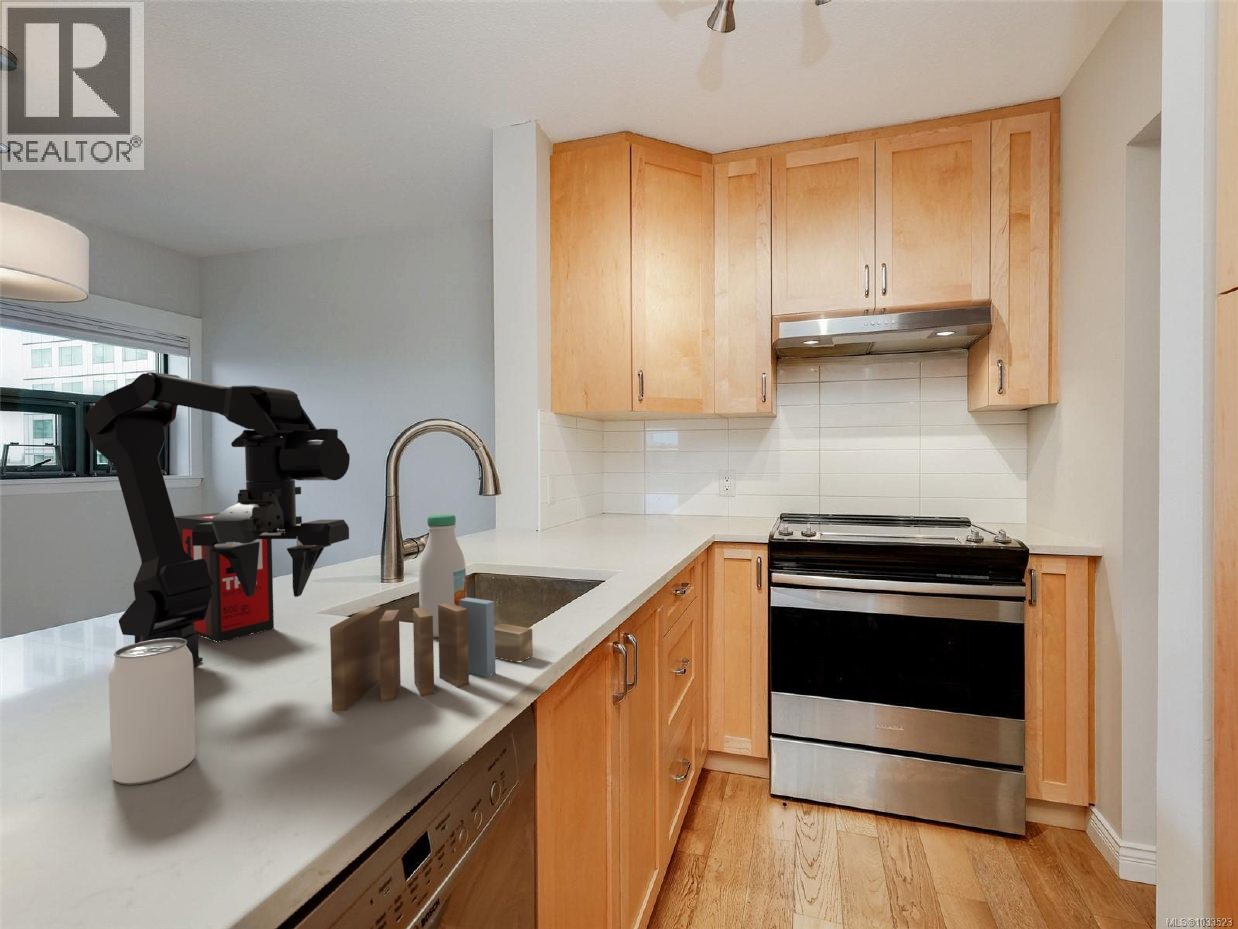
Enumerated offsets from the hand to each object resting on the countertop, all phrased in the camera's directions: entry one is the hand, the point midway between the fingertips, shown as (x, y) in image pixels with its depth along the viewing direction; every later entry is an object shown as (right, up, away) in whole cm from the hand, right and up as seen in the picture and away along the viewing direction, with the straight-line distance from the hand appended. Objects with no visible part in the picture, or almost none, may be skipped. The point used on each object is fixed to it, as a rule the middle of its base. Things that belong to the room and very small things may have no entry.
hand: (273, 596), depth 80 cm
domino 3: (+21, -11, -3) cm, 24 cm away
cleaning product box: (-24, -12, +25) cm, 37 cm away
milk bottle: (+17, -11, +21) cm, 29 cm away
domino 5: (+27, -11, +2) cm, 29 cm away
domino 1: (+14, -12, -5) cm, 18 cm away
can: (+1, -12, -22) cm, 25 cm away
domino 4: (+25, -11, -1) cm, 27 cm away
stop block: (+30, -11, +8) cm, 33 cm away
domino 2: (+18, -11, -5) cm, 21 cm away
